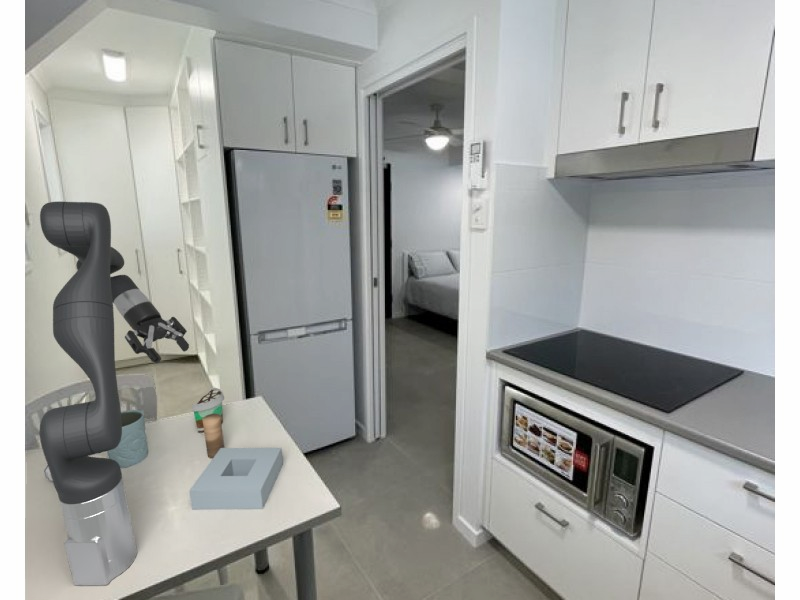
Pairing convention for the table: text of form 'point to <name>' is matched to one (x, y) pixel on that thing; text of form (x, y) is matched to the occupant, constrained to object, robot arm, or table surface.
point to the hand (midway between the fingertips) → (173, 355)
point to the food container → (208, 407)
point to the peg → (213, 434)
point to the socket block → (237, 479)
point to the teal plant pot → (131, 440)
